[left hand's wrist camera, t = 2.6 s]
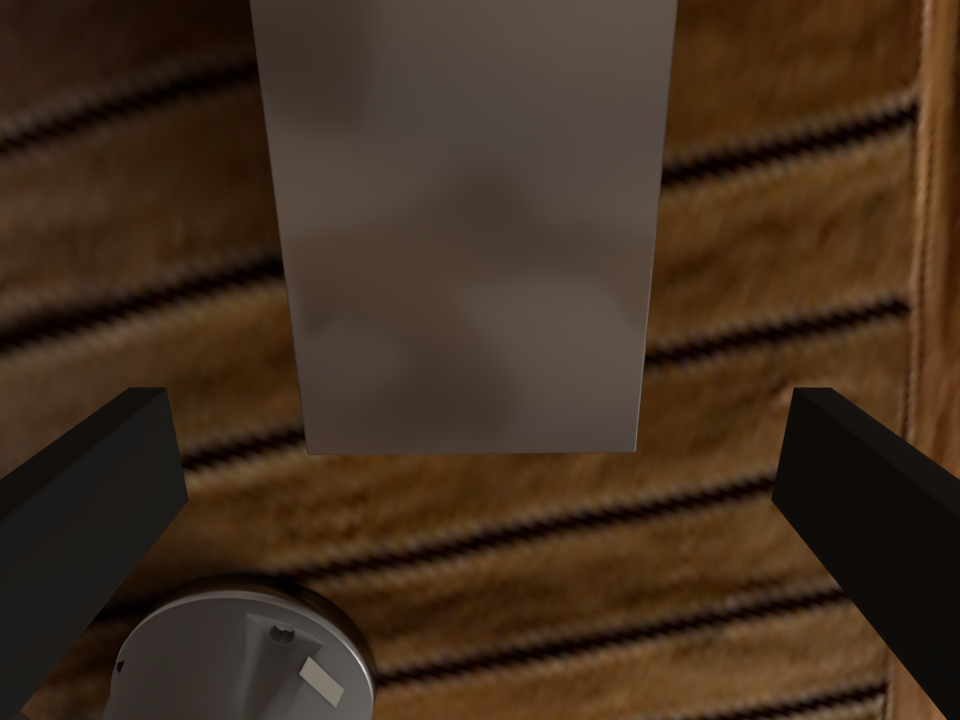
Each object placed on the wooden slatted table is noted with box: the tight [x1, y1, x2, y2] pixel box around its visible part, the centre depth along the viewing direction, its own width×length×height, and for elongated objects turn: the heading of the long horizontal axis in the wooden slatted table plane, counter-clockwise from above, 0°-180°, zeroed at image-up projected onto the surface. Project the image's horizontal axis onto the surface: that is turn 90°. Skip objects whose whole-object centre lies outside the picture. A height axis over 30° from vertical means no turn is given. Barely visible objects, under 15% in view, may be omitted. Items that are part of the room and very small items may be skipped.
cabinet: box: [249, 0, 678, 455], centre depth 21 cm, size 21×11×11 cm, turn 1°
